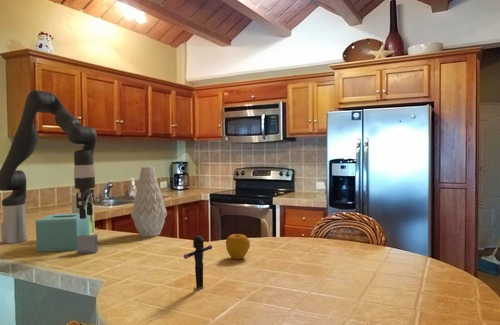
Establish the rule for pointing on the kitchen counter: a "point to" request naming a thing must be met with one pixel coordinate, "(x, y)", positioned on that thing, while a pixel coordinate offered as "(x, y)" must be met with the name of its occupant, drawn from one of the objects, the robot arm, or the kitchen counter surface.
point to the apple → (237, 245)
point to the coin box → (60, 231)
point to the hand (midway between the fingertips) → (86, 216)
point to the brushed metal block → (87, 244)
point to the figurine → (198, 259)
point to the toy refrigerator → (91, 217)
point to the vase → (148, 205)
